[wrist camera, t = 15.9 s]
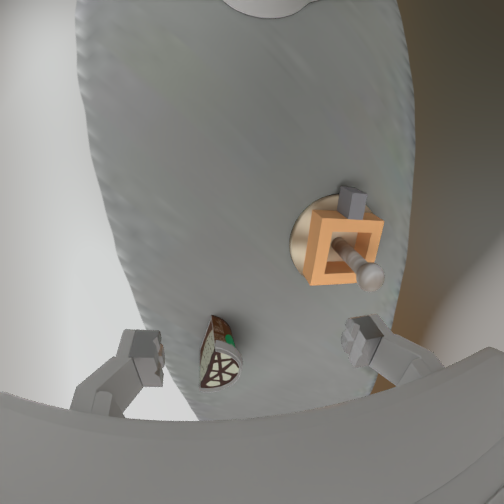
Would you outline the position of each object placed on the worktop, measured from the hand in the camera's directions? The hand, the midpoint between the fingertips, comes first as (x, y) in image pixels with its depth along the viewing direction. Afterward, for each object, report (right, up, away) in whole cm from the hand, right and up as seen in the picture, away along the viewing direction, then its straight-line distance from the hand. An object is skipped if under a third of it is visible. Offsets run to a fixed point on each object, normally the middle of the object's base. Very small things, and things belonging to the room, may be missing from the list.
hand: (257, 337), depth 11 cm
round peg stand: (+14, +6, +34) cm, 37 cm away
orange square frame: (+14, +7, +32) cm, 36 cm away
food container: (-6, -12, +40) cm, 42 cm away
